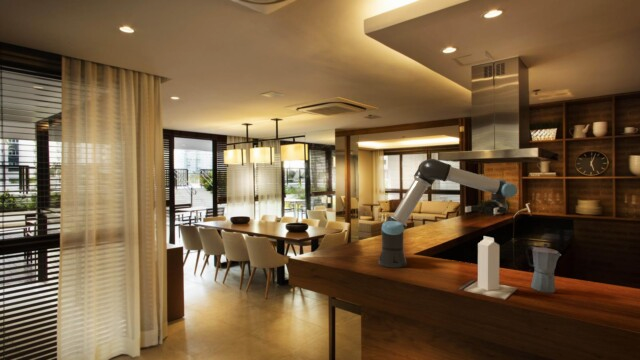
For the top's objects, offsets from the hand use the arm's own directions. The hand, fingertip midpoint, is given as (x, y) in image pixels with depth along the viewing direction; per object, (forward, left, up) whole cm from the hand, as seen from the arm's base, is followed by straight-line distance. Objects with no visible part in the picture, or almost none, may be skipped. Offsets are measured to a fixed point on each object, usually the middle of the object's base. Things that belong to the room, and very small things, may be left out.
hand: (479, 210), depth 174 cm
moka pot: (+28, -7, -32) cm, 43 cm away
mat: (+11, -23, -32) cm, 41 cm away
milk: (+11, -23, -32) cm, 40 cm away
